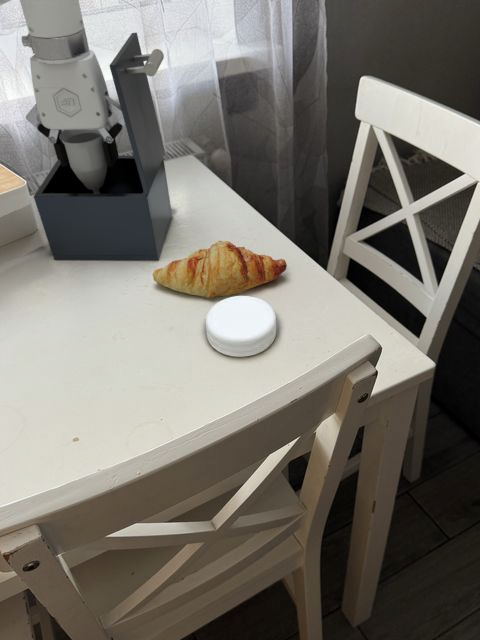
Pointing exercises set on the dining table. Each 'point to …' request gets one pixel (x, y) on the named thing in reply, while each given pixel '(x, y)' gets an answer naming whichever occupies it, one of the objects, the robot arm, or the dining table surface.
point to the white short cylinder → (241, 326)
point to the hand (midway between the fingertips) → (89, 162)
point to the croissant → (219, 271)
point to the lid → (139, 106)
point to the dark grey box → (105, 214)
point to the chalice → (86, 156)
